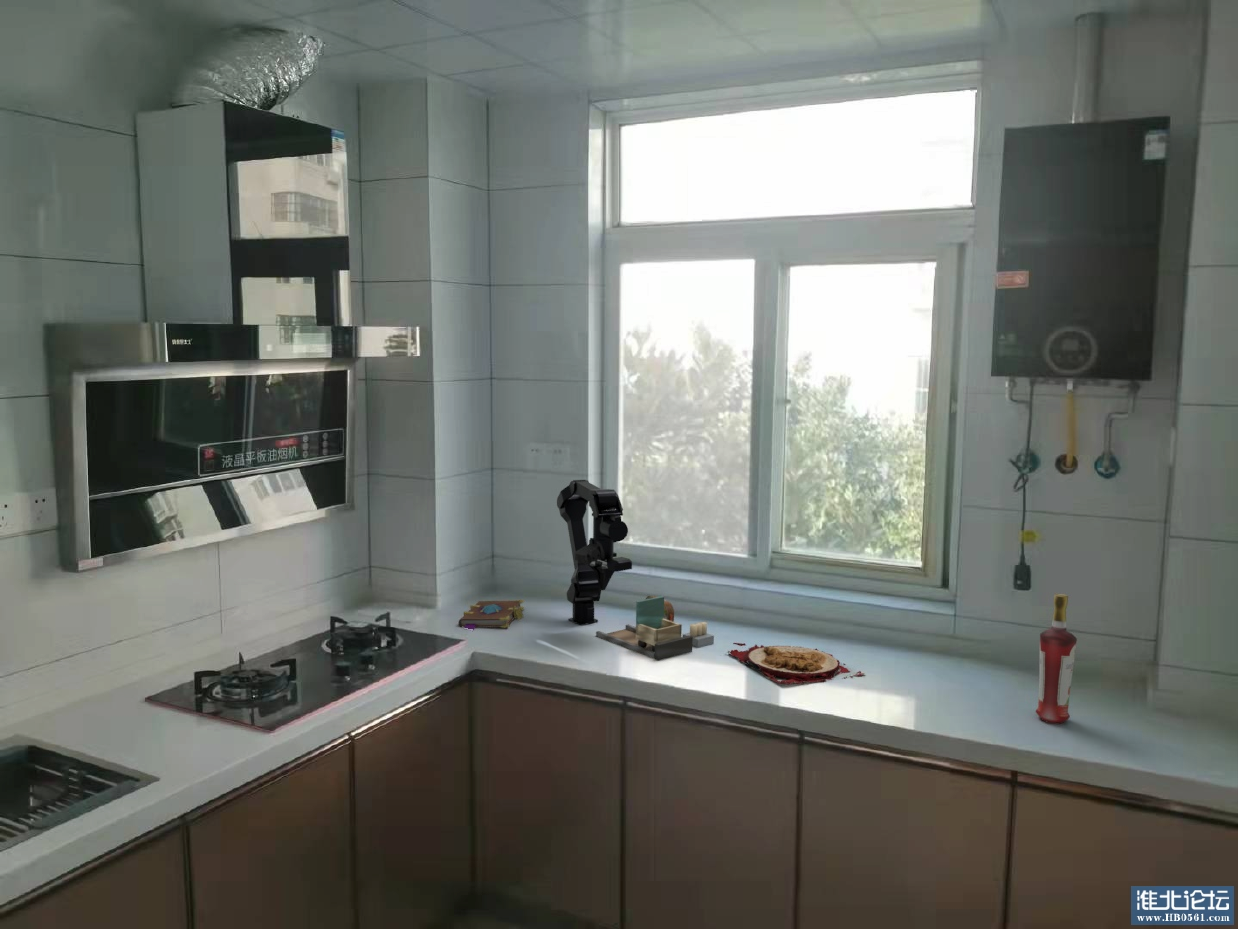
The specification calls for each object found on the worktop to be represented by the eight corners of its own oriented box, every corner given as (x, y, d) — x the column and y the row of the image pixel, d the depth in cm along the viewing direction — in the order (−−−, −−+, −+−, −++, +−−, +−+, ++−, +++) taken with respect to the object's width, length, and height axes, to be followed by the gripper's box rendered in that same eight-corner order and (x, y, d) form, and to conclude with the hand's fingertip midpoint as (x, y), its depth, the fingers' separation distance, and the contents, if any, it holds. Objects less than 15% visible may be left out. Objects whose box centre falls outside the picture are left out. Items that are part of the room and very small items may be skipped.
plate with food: (781, 691, 227) (782, 677, 226) (727, 655, 251) (727, 642, 250) (866, 680, 236) (867, 666, 236) (805, 646, 260) (806, 634, 260)
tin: (642, 620, 281) (642, 592, 280) (651, 619, 283) (652, 591, 282) (665, 634, 268) (666, 605, 267) (675, 633, 269) (676, 604, 268)
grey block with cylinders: (682, 645, 258) (682, 623, 258) (698, 641, 262) (698, 619, 261) (697, 650, 254) (698, 628, 253) (713, 646, 258) (714, 624, 257)
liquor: (1039, 710, 215) (1048, 589, 211) (1074, 719, 210) (1083, 595, 207) (1029, 720, 209) (1038, 596, 206) (1065, 728, 204) (1074, 602, 201)
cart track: (595, 638, 263) (595, 621, 262) (628, 631, 270) (628, 614, 270) (658, 663, 243) (658, 645, 242) (692, 654, 250) (692, 636, 250)
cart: (635, 647, 252) (636, 601, 250) (660, 641, 257) (661, 596, 256) (655, 655, 246) (656, 608, 244) (681, 648, 251) (682, 602, 250)
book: (453, 635, 268) (452, 618, 267) (477, 612, 292) (476, 596, 292) (509, 635, 266) (508, 618, 265) (529, 611, 290) (528, 595, 290)
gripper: (559, 532, 265) (559, 587, 266) (601, 543, 250) (601, 601, 252) (591, 528, 272) (590, 581, 274) (633, 538, 257) (632, 595, 259)
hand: (602, 589), depth 264 cm, fingers closed
